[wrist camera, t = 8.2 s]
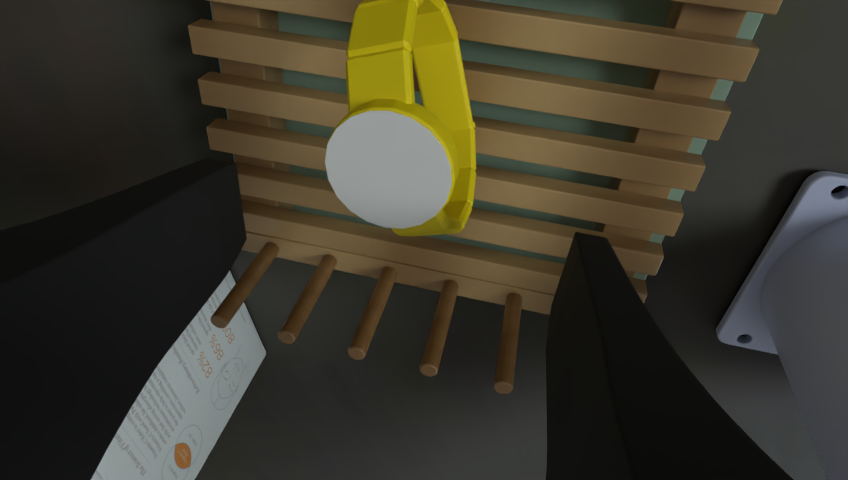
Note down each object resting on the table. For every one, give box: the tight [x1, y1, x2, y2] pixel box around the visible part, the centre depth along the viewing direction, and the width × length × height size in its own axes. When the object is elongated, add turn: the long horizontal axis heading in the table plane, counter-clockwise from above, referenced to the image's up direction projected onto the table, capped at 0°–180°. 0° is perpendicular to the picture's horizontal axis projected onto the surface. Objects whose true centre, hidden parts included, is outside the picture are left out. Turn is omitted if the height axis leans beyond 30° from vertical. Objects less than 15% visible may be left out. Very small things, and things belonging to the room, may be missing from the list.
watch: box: [325, 0, 476, 236], centre depth 14 cm, size 6×3×6 cm, turn 14°
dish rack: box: [188, 0, 782, 394], centre depth 16 cm, size 17×15×7 cm
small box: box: [91, 270, 266, 480], centre depth 25 cm, size 8×6×10 cm
